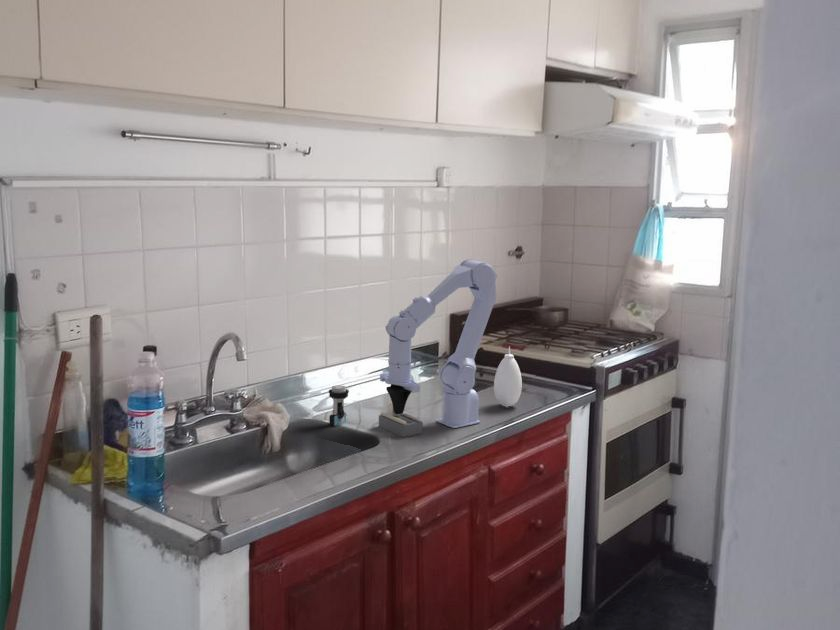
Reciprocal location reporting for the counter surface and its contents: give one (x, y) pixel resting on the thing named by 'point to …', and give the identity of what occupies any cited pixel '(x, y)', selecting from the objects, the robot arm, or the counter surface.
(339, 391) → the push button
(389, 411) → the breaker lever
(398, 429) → the grey shallow tray
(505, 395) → the air blower bulb
